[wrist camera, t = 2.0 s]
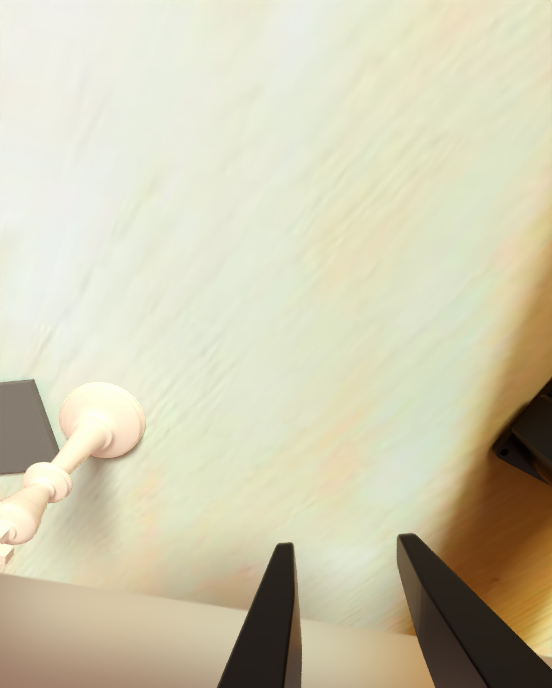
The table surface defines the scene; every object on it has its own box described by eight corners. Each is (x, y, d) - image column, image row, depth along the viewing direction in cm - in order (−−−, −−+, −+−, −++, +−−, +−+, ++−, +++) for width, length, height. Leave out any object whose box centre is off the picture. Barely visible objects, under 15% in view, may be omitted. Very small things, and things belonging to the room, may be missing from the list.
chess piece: (140, 459, 22) (37, 633, 13) (61, 442, 22) (-105, 609, 12) (151, 392, 21) (43, 533, 11) (67, 373, 20) (-119, 502, 11)
